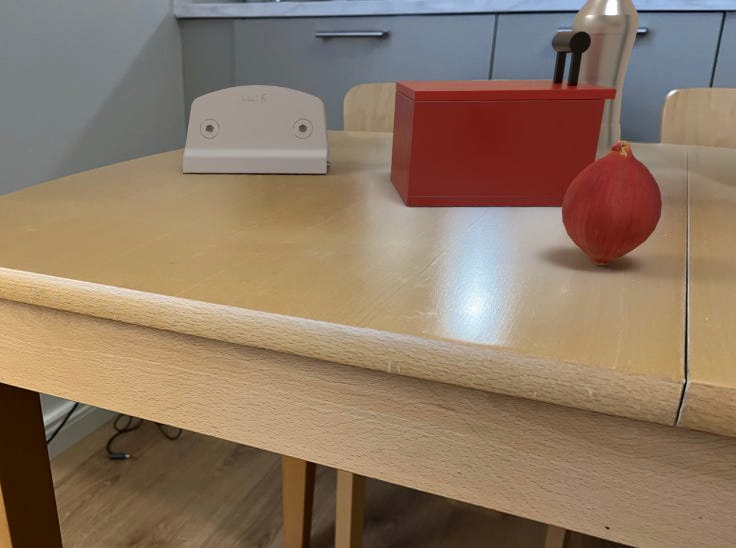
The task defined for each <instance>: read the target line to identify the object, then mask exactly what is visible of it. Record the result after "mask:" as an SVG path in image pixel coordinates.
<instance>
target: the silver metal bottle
mask: <svg viewBox="0 0 736 548" xmlns="http://www.w3.org/2000/svg"><path fill="white" fill-rule="evenodd" d="M639 17H640V16H639V12H638V10H637V8H636V6H635V3H634V2H633V0H587V1H585V3H584V4H583V5H582V6H581V8H580V9H579V11H578V12H577V14H576V15H575V17H574V19H573V22H572V24H571V31H584V32H587V33H588V34H589V35H590V38H591V44H590V47H589V48H588V50H587V51H585V52H584V53H582V58H581V64H580V71H579V78H578V82H580V83H586V84H592V85H597V86H603V87H608V88H614V89H617V91H616V97H615V99H603V100H605V104H604V110H603V116H602V122H601V128H600V134H599V140H598V146H597V152H596V158H595V161H597V160H599V159H600V158H602V157H604V156H606V155H607V154H608V153H609V152H610V151H611V146H613V145H614V144H615V143H616V142H618V141H621V129H622V128H621V123H620V120H621V111H622V110H621V109H622V99H623V97H622V96H623V89H624V84H625V81H624V79H625V77H626V74H627V71H628V70H627V69H628V65H629V61H630V57H631V55H632V51H633V48H634V44H635V41H636V38H637V33H638V31H639V28H640V27H639V26H640V19H639Z"/></svg>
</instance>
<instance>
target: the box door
mask: <svg viewBox="0 0 736 548" xmlns="http://www.w3.org/2000/svg"><path fill="white" fill-rule="evenodd" d="M590 44H591V38H590V35H589V34H588V33H587V32H584V31H572V30H570V31H569V30H563V31H559V32H557V33H556V34H555V35H554V36H553V38H552V40H551V47H552V50H554V51H555V52H556V56H555V63H554V71H553V79H516V80H515V79H511V80H510V79H509V80H508V79H506V80H505V79H504V80H495V79H494V80H412V81H411V80H406V81H405V80H400V81H398V80H397V81H395V91H399V92H401V93H402V94H404V95H406V96H408V97H409V98H411V99H413V100H415V101H437V100H563V99H615V97H616V91H617V89H614V88H608V87H603V86H597V85H592V84H586V83H580V82H578V78H579V71H580V64H581V58H582V53H584V52H585V51H587V50H588V48H589V47H590ZM567 54H571V55H570V63H569V68H568V69H569V70H568V75H567V76H568V77H567V79H564V75H565V68H566V61H567Z"/></svg>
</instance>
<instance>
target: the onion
mask: <svg viewBox="0 0 736 548" xmlns="http://www.w3.org/2000/svg"><path fill="white" fill-rule="evenodd" d="M662 201H663V200H662V192H661V190H660V186H659V184H658V182H657V180H656V178H655V177H654V175H653V174H652V172H651V171H650V170H649V169H648V167H647V166H646V165H644V163H642V162H641V161H640V160H638V159H637V158H636V157H635V156H634V154H633V151H632V148H631V143H630V142H628V141H626V140H620V141H618V142H616V143H615V144H614V145H613V146H611V151H610V152H609V153H608V154H607V155H606V156H604V157H602V158H600V159H599V160H597V161H595V162H593V163H592V164H590V165H589V166H587V167H586V168H585V169H584V170H583V171H582V172H580V173H579V174H578V175H577V177H576V178H575V179H574V180H573V181H572V183H571V184H570V186H569V187H568V189H567V192H566V194H565V196H564V200H563V205H562V206H561V220H562V224H563V226H564V228H565V229H564V230H565V231H566V234H567V236H568V237H569V239H571V241H572V242H573V243H574V244H575V246H577V248H578V249H580V250H581V251H582V252H583V253H584V254H585V255H586V256H587V257H588V259H589V260H590V261H591V262H592V263H594V264H595V265H597V266H607V265H610V264H612V263H613V262H615V261H617V260H619V259H620V258H622V257H624V256H627V254H629V253H630V252H633V251H634V250H635V249H637V248H638V247H639V246H641V245H642V244H644V243H645V242H646V241H647V240H648V239H649V237H650V236H652V234H653V233H654V231H655V230H656V228H657V226H658V223H659V221H660V219H661V217H662V207H663V202H662Z"/></svg>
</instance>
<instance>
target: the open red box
mask: <svg viewBox="0 0 736 548" xmlns="http://www.w3.org/2000/svg"><path fill="white" fill-rule="evenodd" d="M604 104H605V100H603V99H563V100H437V101H415V100H413V99H411V98H409V97H408V96H406V95H404V94H402V93H401V92H399V91H397V90H395V97H394V113H393V129H392V130H393V131H392V146H391V163H390V176H389V177H390V178H389V179H390V183H391V184H392V185H393V187H394V188H395V190H396V191H397V193H398V194H399V196H400V198H401V199H402V200H403V202H404V204H405V206H406V207H562V205H563V200H564V196H565V194H566V192H567V189H568V187H569V186H570V184H571V183H572V181H573V180H574V179H575V178H576V177H577V175H578V174H579V173H580V172H582V171H583V170H584V169H585V168H586V167H587V166H589V165H590V164H592V163H593V162H595V158H596V152H597V146H598V140H599V134H600V128H601V122H602V116H603V110H604Z"/></svg>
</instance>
